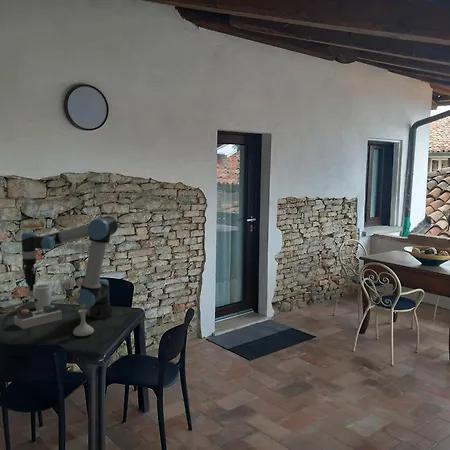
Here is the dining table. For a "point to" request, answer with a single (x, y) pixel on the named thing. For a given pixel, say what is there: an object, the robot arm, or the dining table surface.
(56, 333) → the dining table surface
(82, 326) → the flower in vase
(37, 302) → the toggle lever
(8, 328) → the dining table surface
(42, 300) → the jar
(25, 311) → the terracotta button
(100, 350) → the dining table surface
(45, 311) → the console
